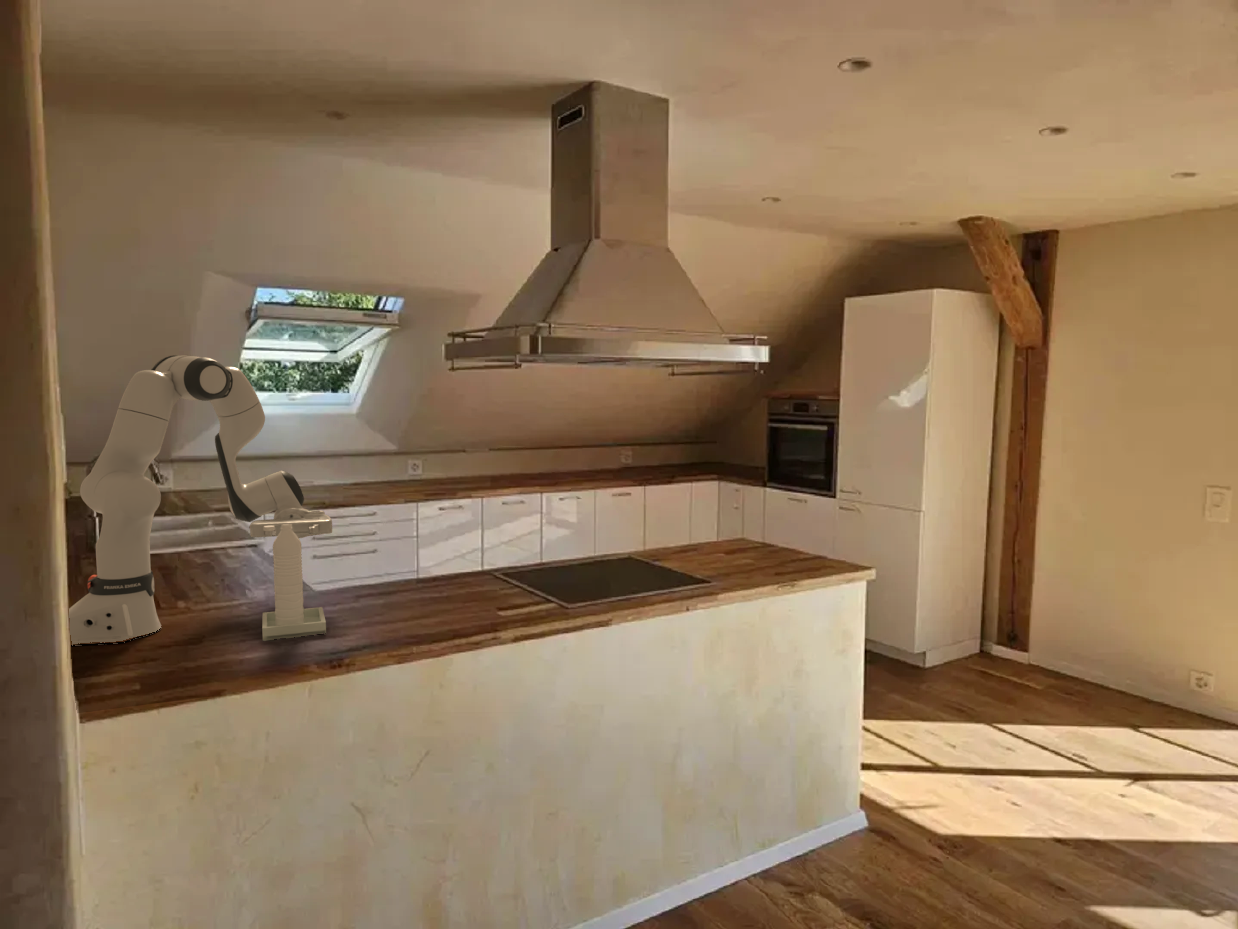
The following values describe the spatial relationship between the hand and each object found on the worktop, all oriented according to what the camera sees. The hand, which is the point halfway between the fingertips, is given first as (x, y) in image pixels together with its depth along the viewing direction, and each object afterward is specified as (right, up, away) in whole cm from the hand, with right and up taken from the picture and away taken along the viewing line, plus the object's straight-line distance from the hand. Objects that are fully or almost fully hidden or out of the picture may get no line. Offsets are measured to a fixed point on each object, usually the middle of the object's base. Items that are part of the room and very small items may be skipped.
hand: (292, 532), depth 216 cm
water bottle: (+3, -22, -11) cm, 25 cm away
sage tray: (+4, -23, -11) cm, 26 cm away
